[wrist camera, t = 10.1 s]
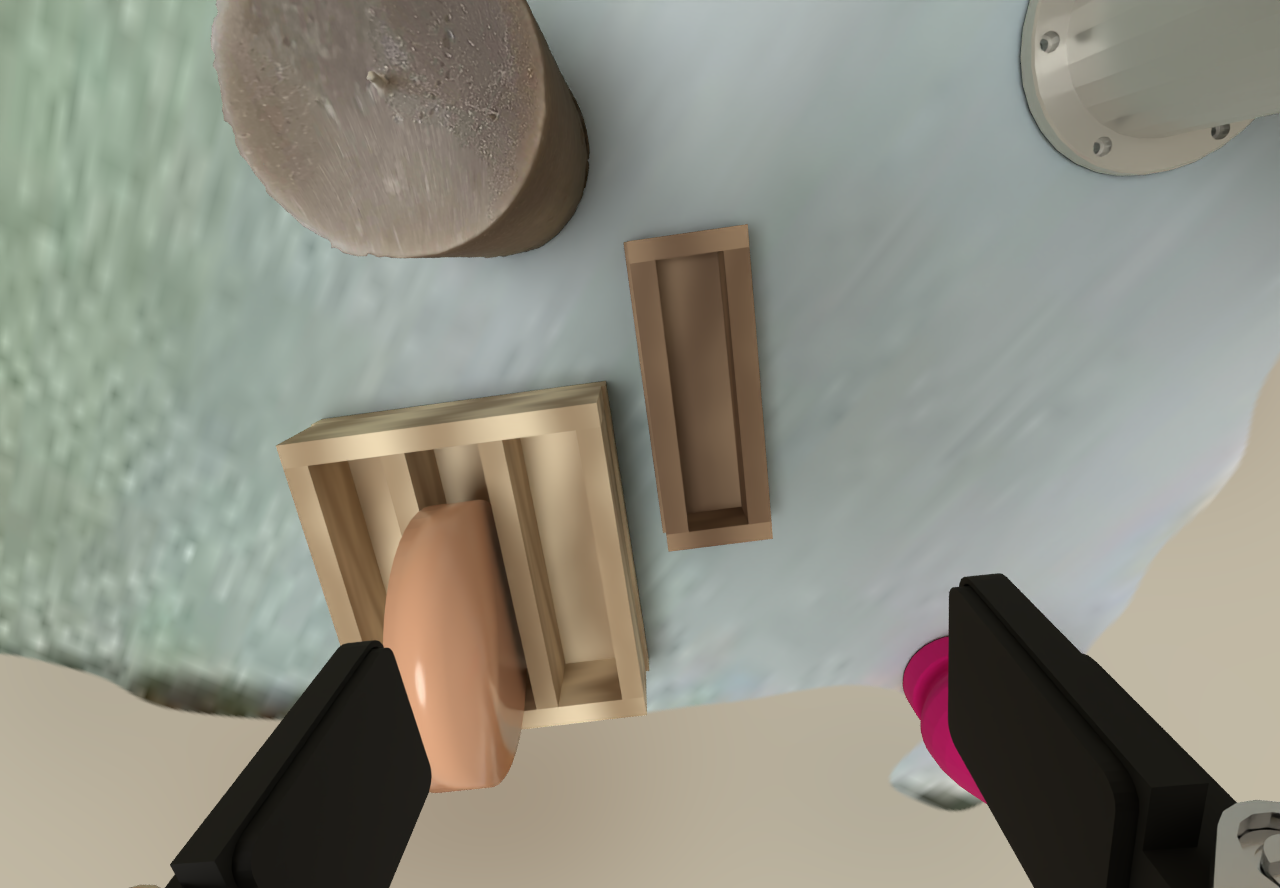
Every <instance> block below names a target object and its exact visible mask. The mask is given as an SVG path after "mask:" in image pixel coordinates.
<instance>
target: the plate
mask: <svg viewBox="0 0 1280 888" xmlns="http://www.w3.org/2000/svg"><path fill="white" fill-rule="evenodd" d="M383 646H384V648H390V649H391V650H392V651H393V653H394V656H395V659H396V662H397V665H398V668H399V671H400V674H401V677H402V680H403V683H404V686H405V690H406V693H407V696H408V699H409V702H410V705H411V708H412V711H413V714H414V717H415V720H416V723H417V726H418V729H419V732H420V735H421V739H422V742H423V745H424V748H425V751H426V754H427V757H428V760H429V763H430V766H431V773H432V779H431V786H430V790H429V792H431V793H442V792H452V791H461V790H471V789H480V788H489V787H495V786H496V785H498V784H500V783H501V782H502V780H503V779H504V778H505V776H506V775H507V773H508V772H509V770H510V767H511V765H512V763H513V760H514V756H515V754H516V750H517V746H518V743H519V738H520V733H521V728H522V722H523V715H524V706H525V696H526V678H527V664H526V659H525V655H524V650H523V646H522V641H521V637H520V633H519V628H518V624H517V619H516V615H515V610H514V606H513V601H512V597H511V592H510V588H509V583H508V579H507V574H506V570H505V565H504V561H503V556H502V552H501V547H500V543H499V538H498V534H497V529H496V525H495V520H494V516H493V512H492V507H491V504H490V503H489V502H487V501H485V500H473V501H465V502H457V503H449V504H440V505H432V506H428V507H425V508H423V509H422V510H420V511H419V512H418V513H417V514H416V515H415V516H414V517H413V518H412V519H411V521H410V522H409V524H408V526H407V527H406V529H405V531H404V533H403V535H402V538H401V540H400V542H399V545H398V548H397V551H396V554H395V557H394V560H393V565H392V569H391V573H390V577H389V583H388V589H387V595H386V604H385V613H384V631H383Z"/></svg>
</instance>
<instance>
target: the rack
mask: <svg viewBox="0 0 1280 888" xmlns="http://www.w3.org/2000/svg"><path fill="white" fill-rule="evenodd" d="M276 447H277V451H278V454H279V457H280V460H281V463H282V466H283V469H284V472H285V475H286V478H287V481H288V485H289V488H290V491H291V494H292V497H293V500H294V503H295V506H296V509H297V512H298V515H299V519H300V522H301V525H302V528H303V531H304V534H305V537H306V540H307V543H308V546H309V549H310V552H311V556H312V559H313V562H314V565H315V568H316V571H317V574H318V577H319V580H320V583H321V586H322V590H323V593H324V596H325V599H326V602H327V605H328V608H329V611H330V614H331V617H332V620H333V624H334V627H335V630H336V633H337V636H338V639H339V642H340V645H342V644H345V643H353V642H362V641H371V640H377V641H380V642H381V643H382V644H383V631H384V613H385V604H386V595H387V589H388V583H389V577H390V573H391V569H392V565H393V560H394V557H395V554H396V551H397V548H398V545H399V542H400V540H401V538H402V535H403V533H404V531H405V529H406V527H407V526H408V524H409V522H410V521H411V519H412V518H413V517H414V516H415V515H416V514H417V513H418V512H419V511H420V510H422V509H423V508H425V507H428V506H432V505H440V504H449V503H457V502H465V501H473V500H485V501H487V502H489V503H490V504H491V507H492V512H493V516H494V520H495V525H496V529H497V534H498V538H499V543H500V547H501V552H502V556H503V561H504V565H505V570H506V574H507V579H508V583H509V588H510V592H511V597H512V601H513V606H514V610H515V615H516V619H517V624H518V628H519V633H520V637H521V641H522V646H523V650H524V655H525V659H526V664H527V678H526V696H525V706H524V715H523V722H522V728H521V729H530V728H538V727H547V726H556V725H564V724H573V723H582V722H590V721H599V720H608V719H616V718H625V717H633V716H642V715H647V699H646V671H649V657H648V650H647V644H646V637H645V631H644V624H643V618H642V611H641V605H640V598H639V592H638V586H637V579H636V573H635V566H634V560H633V553H632V547H631V540H630V534H629V527H628V521H627V514H626V508H625V501H624V495H623V488H622V482H621V475H620V469H619V462H618V456H617V450H616V443H615V437H614V430H613V424H612V417H611V411H610V404H609V398H608V391H607V385H606V381H601V382H594V383H587V384H579V385H572V386H564V387H557V388H550V389H542V390H535V391H527V392H520V393H513V394H505V395H498V396H490V397H483V398H476V399H468V400H461V401H453V402H446V403H439V404H431V405H424V406H416V407H409V408H402V409H394V410H387V411H379V412H372V413H364V414H357V415H350V416H342V417H335V418H327V419H321V420H319V421H318V422H316V423H314V424H312V425H311V427H309V428H307V429H306V430H304V431H302V432H300V433H298V434H297V435H295V436H293V437H291V438H289V439H287V440H286V441H284V442H282V443H280V444H278V445H276Z"/></svg>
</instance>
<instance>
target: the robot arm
mask: <svg viewBox="0 0 1280 888" xmlns="http://www.w3.org/2000/svg"><path fill="white" fill-rule="evenodd" d="M1040 43H1041V44H1042V49H1041V47H1040ZM1020 58H1021V69H1022V80H1023V87H1024V91H1025V94H1026V98H1027V101H1028V105H1029V108H1030V111H1031V113H1032V115H1033V117H1034V119H1035V120H1036V122H1037V124H1038V126H1039V128H1040V130H1041V132H1042V133H1043V134H1044V135H1045V137H1046V138H1047V139H1048V140H1049V141H1050V142H1051V144H1052V145H1053V146H1054V147H1055V148H1056V149H1057V150H1058V151H1059V152H1061V153H1062V154H1063V155H1065V156H1066V157H1067V158H1069V159H1070V160H1071V161H1073V162H1074V163H1076V164H1078V165H1081V166H1083V167H1085V168H1088V169H1090V170H1093V171H1095V172H1099V173H1105V174H1111V175H1116V176H1131V175H1146V174H1152V173H1157V172H1163V171H1169V170H1172V169H1175V168H1178V167H1181V166H1184V165H1187V164H1190V163H1193V162H1195V161H1197V160H1199V159H1201V158H1203V157H1205V156H1207V155H1208V154H1210V153H1212V152H1214V151H1216V150H1218V149H1220V148H1221V147H1222V146H1223V145H1225V144H1226V143H1227V142H1229V141H1230V140H1231V139H1233V138H1234V137H1235V136H1237V135H1238V134H1239V133H1241V132H1242V131H1243V130H1244V129H1245V128H1246V127H1247V126H1248V125H1249V124H1250V123H1251V122H1252V121H1253V120H1254V119H1255V118H1258V117H1263V116H1267V115H1272V114H1277V113H1280V0H1030V2H1029V6H1028V10H1027V14H1026V18H1025V22H1024V26H1023V33H1022V45H1021V57H1020ZM1093 147H1094V150H1093ZM948 726H949V731H950V735H951V738H952V741H953V743H954V746H955V748H956V749H957V751H958V753H959V755H960V757H961V758H962V760H963V762H964V764H965V765H966V767H967V769H968V771H969V773H970V774H971V776H972V778H973V780H974V781H975V783H976V785H977V787H978V789H979V790H980V792H981V794H982V796H983V797H984V799H985V801H986V803H987V805H988V806H989V808H990V810H991V812H992V813H993V815H994V817H995V819H996V821H997V822H998V824H999V826H1000V828H1001V830H1002V831H1003V833H1004V835H1005V837H1006V838H1007V840H1008V842H1009V844H1010V846H1011V847H1012V849H1013V851H1014V852H1015V854H1016V856H1017V858H1018V860H1019V862H1020V863H1021V865H1022V867H1023V868H1024V871H1025V872H1026V874H1027V876H1028V878H1029V879H1030V881H1031V883H1032V885H1033V887H1034V888H1280V802H1272V801H1262V800H1253V801H1247V802H1240V803H1237V802H1236V801H1235V800H1233V798H1232V797H1230V795H1229V794H1228V793H1227V792H1226V791H1225V790H1224V789H1223V788H1222V787H1221V786H1220V785H1219V784H1218V783H1217V782H1216V781H1215V780H1214V779H1213V778H1212V777H1211V776H1210V775H1209V774H1208V773H1207V772H1206V771H1205V770H1204V769H1203V768H1202V767H1201V766H1200V765H1199V764H1198V763H1197V762H1196V761H1195V760H1194V759H1193V758H1192V757H1191V756H1190V755H1189V754H1188V753H1187V752H1186V751H1185V750H1184V749H1183V748H1181V746H1180V745H1179V744H1178V743H1177V742H1176V741H1175V740H1174V739H1173V738H1172V737H1171V736H1170V735H1169V734H1168V733H1167V732H1166V731H1165V730H1164V729H1163V728H1162V727H1161V726H1160V725H1159V724H1158V723H1157V722H1156V721H1155V720H1154V719H1153V718H1152V717H1151V716H1150V715H1149V714H1148V713H1147V712H1146V711H1145V710H1144V709H1143V708H1142V707H1141V706H1140V705H1139V704H1138V703H1137V702H1136V701H1135V700H1134V699H1133V698H1132V697H1131V696H1130V695H1129V694H1128V693H1127V692H1126V691H1125V690H1124V689H1123V688H1122V687H1121V686H1120V685H1119V684H1118V683H1117V682H1116V681H1115V680H1114V679H1113V678H1112V677H1111V676H1110V675H1109V674H1108V673H1107V672H1106V671H1105V670H1104V669H1103V668H1102V667H1101V666H1100V665H1099V664H1098V663H1097V662H1096V661H1094V660H1093V659H1092V658H1091V657H1089V656H1088V655H1085V654H1082V653H1081V652H1080V651H1079V650H1078V649H1077V648H1076V647H1075V646H1074V645H1073V644H1072V643H1071V642H1070V641H1069V640H1068V639H1067V638H1066V637H1065V636H1064V635H1063V634H1062V633H1061V632H1060V631H1059V630H1058V629H1057V628H1056V627H1055V626H1054V625H1053V624H1052V623H1051V622H1050V621H1049V620H1048V619H1047V618H1046V617H1045V616H1044V615H1043V614H1042V613H1041V612H1040V611H1039V610H1038V609H1037V608H1036V607H1035V606H1034V604H1033V603H1032V602H1031V601H1030V600H1029V599H1028V598H1027V597H1026V596H1025V595H1024V594H1023V593H1022V592H1021V591H1020V590H1019V589H1018V588H1017V587H1016V586H1015V585H1014V584H1013V583H1012V582H1011V581H1010V580H1009V579H1008V578H1007V577H1006V576H1004V575H1003V574H999V573H997V574H988V575H979V576H969V577H963V578H962V579H961V581H960V584H959V587H954V588H951V590H950V592H949V652H948ZM431 779H432V773H431V766H430V763H429V760H428V757H427V754H426V751H425V748H424V745H423V742H422V739H421V735H420V732H419V729H418V726H417V723H416V720H415V717H414V714H413V711H412V708H411V705H410V702H409V699H408V696H407V693H406V690H405V686H404V683H403V680H402V677H401V674H400V671H399V668H398V665H397V662H396V659H395V656H394V653H393V651H392V650H391V649H390V648H384V646H383V644H382V643H381V642H380V641H377V640H371V641H362V642H353V643H345V644H342V645H341V646H340V647H339V648H338V649H337V650H336V652H335V653H334V654H333V655H332V657H331V658H330V659H329V661H328V662H327V663H326V665H325V666H324V667H323V668H322V670H321V671H320V672H319V674H318V675H317V676H316V677H315V679H314V680H313V681H312V683H311V684H310V685H309V686H308V688H307V689H306V690H305V692H304V693H303V694H302V695H301V697H300V698H299V699H298V701H297V702H296V703H295V704H294V706H293V707H292V708H291V710H290V711H289V712H288V713H287V715H286V716H285V717H284V719H283V720H282V721H281V722H280V724H279V725H278V726H277V728H276V729H275V730H274V732H273V733H272V734H271V735H270V737H269V738H268V739H267V741H266V742H265V743H264V744H263V746H262V747H261V748H260V749H259V751H258V752H257V753H256V755H255V756H254V757H253V758H252V760H251V761H250V762H249V764H248V765H247V766H246V768H245V769H244V770H243V771H242V773H241V774H240V775H239V777H238V778H237V779H236V781H235V782H234V783H233V784H232V786H231V787H230V788H229V789H228V791H227V792H226V794H225V795H224V796H223V797H222V798H221V800H220V801H219V802H218V804H217V805H216V806H215V808H214V809H213V810H212V811H211V813H210V814H209V815H208V817H207V818H206V819H205V820H204V822H203V823H202V824H201V825H200V827H199V828H198V830H197V831H196V832H195V833H194V834H193V836H192V837H191V838H190V840H189V841H188V842H187V844H186V845H185V846H184V847H183V849H182V850H181V851H180V852H179V854H178V855H177V856H176V858H175V859H174V861H172V863H171V864H170V866H171V867H172V869H173V871H174V873H175V875H174V876H173V878H172V879H171V880H170V882H169V883H168V884H167V886H166V887H165V888H389V886H390V884H391V881H392V879H393V877H394V874H395V872H396V870H397V867H398V865H399V863H400V860H401V858H402V855H403V853H404V851H405V848H406V846H407V843H408V841H409V839H410V836H411V834H412V831H413V829H414V827H415V824H416V822H417V819H418V817H419V814H420V812H421V810H422V807H423V805H424V803H425V800H426V798H427V795H428V793H429V790H430V786H431ZM131 888H160V887H158V886H156V885H138V886H134V887H131Z"/></svg>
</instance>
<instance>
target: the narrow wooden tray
mask: <svg viewBox="0 0 1280 888" xmlns="http://www.w3.org/2000/svg"><path fill="white" fill-rule="evenodd" d="M624 250H625V257H626V265H627V272H628V279H629V287H630V294H631V301H632V309H633V316H634V323H635V330H636V338H637V345H638V352H639V360H640V367H641V374H642V382H643V389H644V396H645V404H646V411H647V418H648V425H649V433H650V440H651V447H652V455H653V462H654V469H655V477H656V484H657V491H658V499H659V506H660V513H661V520H662V528H663V533H665V532H666V536H667V543H668V550H669V551H677V550H685V549H693V548H701V547H709V546H717V545H725V544H733V543H741V542H749V541H757V540H766V539H773V536H772V523H771V511H770V498H769V486H768V473H767V461H766V448H765V436H764V423H763V411H762V398H761V386H760V373H759V361H758V348H757V336H756V323H755V311H754V298H753V286H752V273H751V261H750V248H749V236H748V224H746V225H739V226H732V227H725V228H718V229H711V230H704V231H697V232H690V233H683V234H676V235H669V236H662V237H655V238H648V239H641V240H634V241H627V242H624Z"/></svg>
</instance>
